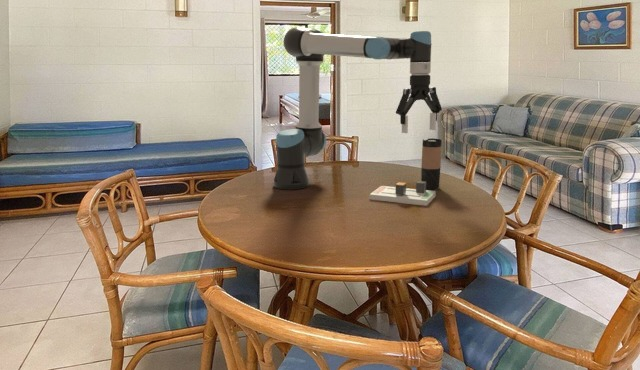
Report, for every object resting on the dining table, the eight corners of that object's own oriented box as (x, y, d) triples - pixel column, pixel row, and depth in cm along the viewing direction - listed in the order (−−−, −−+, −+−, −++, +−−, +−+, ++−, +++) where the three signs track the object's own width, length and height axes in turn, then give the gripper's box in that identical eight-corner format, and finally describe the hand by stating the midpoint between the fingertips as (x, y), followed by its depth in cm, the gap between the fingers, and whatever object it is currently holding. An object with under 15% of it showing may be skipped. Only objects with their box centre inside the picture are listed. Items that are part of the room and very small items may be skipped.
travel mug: (439, 190, 197) (442, 141, 192) (420, 189, 198) (422, 141, 194) (439, 185, 204) (441, 138, 199) (420, 185, 206) (422, 138, 201)
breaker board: (369, 199, 186) (369, 184, 185) (381, 190, 198) (381, 176, 197) (426, 205, 177) (427, 190, 175) (435, 196, 189) (436, 181, 187)
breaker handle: (395, 194, 183) (395, 184, 182) (398, 192, 186) (398, 182, 185) (403, 195, 182) (403, 185, 181) (405, 192, 185) (406, 182, 184)
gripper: (399, 75, 172) (398, 135, 178) (452, 73, 184) (450, 129, 189) (386, 75, 179) (386, 133, 184) (438, 73, 190) (437, 127, 195)
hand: (418, 131), depth 186 cm, fingers open, 13 cm apart
